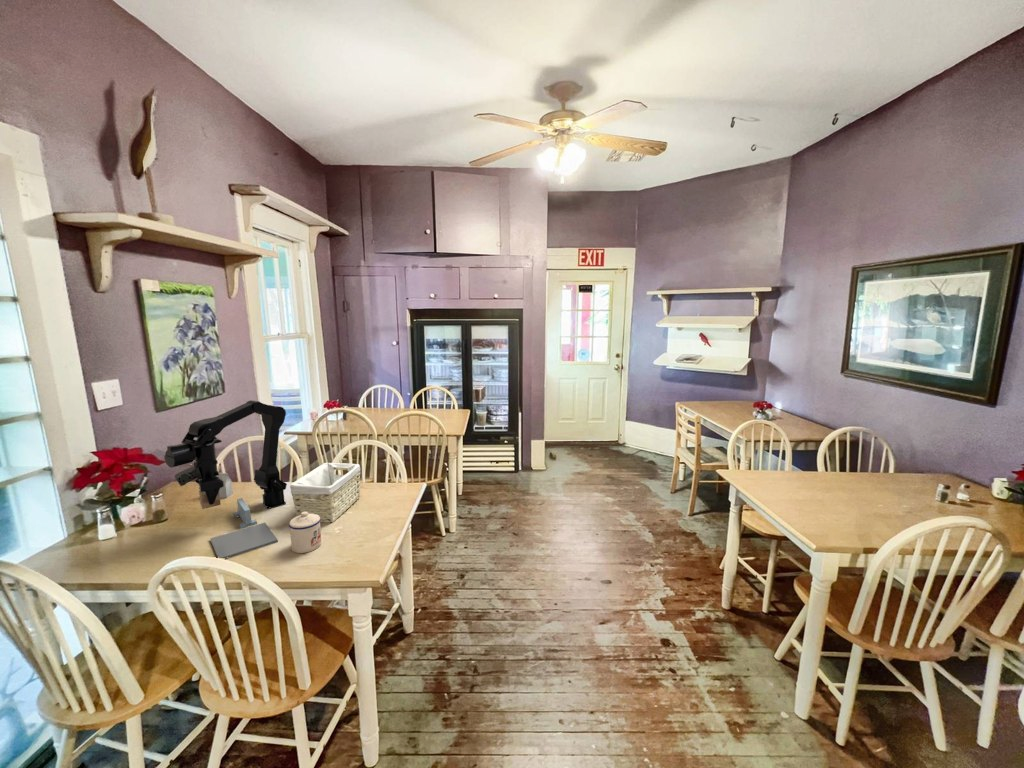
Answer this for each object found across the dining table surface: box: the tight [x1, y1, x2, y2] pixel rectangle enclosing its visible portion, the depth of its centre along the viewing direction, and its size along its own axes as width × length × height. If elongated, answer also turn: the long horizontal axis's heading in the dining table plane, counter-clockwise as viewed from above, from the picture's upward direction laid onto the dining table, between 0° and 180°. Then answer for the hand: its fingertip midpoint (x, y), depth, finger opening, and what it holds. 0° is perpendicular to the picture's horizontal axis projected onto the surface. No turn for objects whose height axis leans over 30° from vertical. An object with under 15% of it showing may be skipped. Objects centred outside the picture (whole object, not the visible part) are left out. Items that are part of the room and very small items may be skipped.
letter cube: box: [198, 490, 221, 510], centre depth 141 cm, size 5×5×5 cm
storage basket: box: [290, 462, 361, 524], centre depth 158 cm, size 24×16×15 cm
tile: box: [210, 522, 279, 560], centre depth 136 cm, size 16×16×1 cm
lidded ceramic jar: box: [288, 511, 322, 554], centre depth 134 cm, size 12×9×12 cm
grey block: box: [217, 472, 234, 499], centre depth 169 cm, size 4×7×10 cm, turn 90°
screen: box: [232, 497, 258, 529], centre depth 150 cm, size 5×13×6 cm, turn 44°
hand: (210, 501), depth 141 cm, fingers closed on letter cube, 5 cm apart
